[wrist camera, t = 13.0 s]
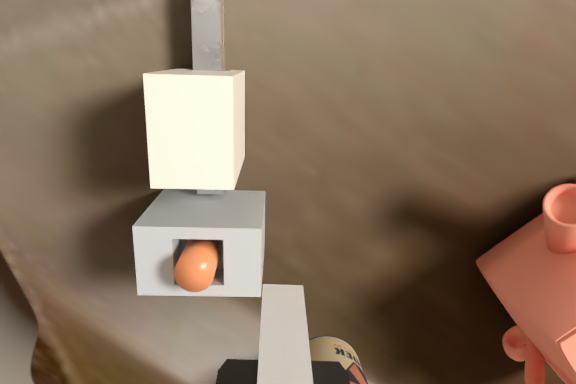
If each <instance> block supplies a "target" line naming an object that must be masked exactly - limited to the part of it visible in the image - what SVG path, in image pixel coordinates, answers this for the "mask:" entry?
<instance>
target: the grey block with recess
mask: <svg viewBox="0 0 576 384" xmlns="http://www.w3.org/2000/svg"><path fill="white" fill-rule="evenodd" d="M132 231H133V243H134V256H135V268H136V281H137V293H138V295H163V296H231V297H261V288H262V274H263V260H264V246H265V191H242V190H225V191H224V194H197V190H195V189H163V190H162V192H161V193H160V194H159V195H158V196H157V198H156V199H155V200H154V201H153V202H152V203H151V205H150V206H149V207H148V208H147V209H146V211H145V212H144V213H143V214H142V215H141V216H140V218H139V219H138V220H137V221H136V222H135V224H134V225H133V226H132ZM190 239H201V240H215V241H216V242H217V244H218V245H219V248H220V258H219V261H218V265H217V268H216V272H215V275H214V278H213V281H212V283H211V285H210V286H209V287H208V288H207V289H205V290H203V291H200V292H189V291H186V290H184V289H182V288H181V287H180V286H179V285H178V284H177V283H176V281H175V278H174V269H175V266H176V264H177V262H178V260H179V258H180V256H181V254H182V252H183V250H184V248H185V245H186V243H187V242H188V241H189V240H190Z"/></svg>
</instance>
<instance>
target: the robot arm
mask: <svg viewBox="0 0 576 384" xmlns="http://www.w3.org/2000/svg"><path fill="white" fill-rule="evenodd" d="M216 384H350V380H349V376H348V373H347V371H346V370H345V369H344V367H343V366H342V365H341V364H340V362H338V361H311V356H310V347H309V338H308V328H307V319H306V310H305V300H304V291H303V286H302V285H275V284H263V292H262V309H261V325H260V342H259V358H258V360H237V359H227V360H226V361H225V362H224V364H223V365H222V366H221V368H220V369H219V370H218V375H217V380H216Z"/></svg>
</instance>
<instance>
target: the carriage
mask: <svg viewBox="0 0 576 384" xmlns="http://www.w3.org/2000/svg"><path fill="white" fill-rule="evenodd" d="M143 83H144V99H145V114H146V129H147V144H148V160H149V175H150V188H158V189H205V190H234V188H235V185H236V182H237V179H238V176H239V173H240V170H241V167H242V164H243V161H244V158H245V70H230V71H204V70H192V69H181V68H178V69H171V70H164V71H157V72H150V73H144V74H143Z"/></svg>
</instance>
